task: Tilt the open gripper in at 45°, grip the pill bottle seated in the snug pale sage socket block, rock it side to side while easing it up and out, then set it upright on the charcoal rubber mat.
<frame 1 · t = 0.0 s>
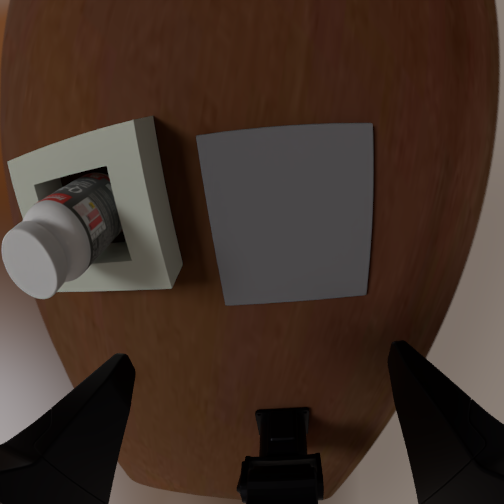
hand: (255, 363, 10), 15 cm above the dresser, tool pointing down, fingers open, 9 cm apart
pill bottle: (101, 203, 23), resting in socket block
charcoal mat: (292, 220, 23), on the dresser
socket block: (100, 204, 23), on the dresser
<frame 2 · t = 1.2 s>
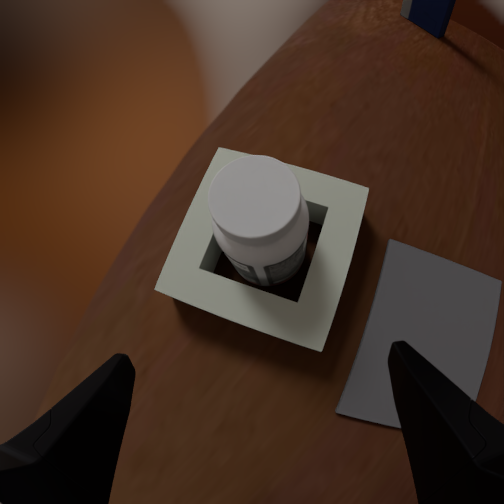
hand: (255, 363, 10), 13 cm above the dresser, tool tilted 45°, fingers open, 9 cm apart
pill bottle: (268, 252, 25), resting in socket block
cassette player: (421, 25, 32), on the dresser
charcoal mat: (431, 344, 21), on the dresser
socket block: (268, 251, 25), on the dresser
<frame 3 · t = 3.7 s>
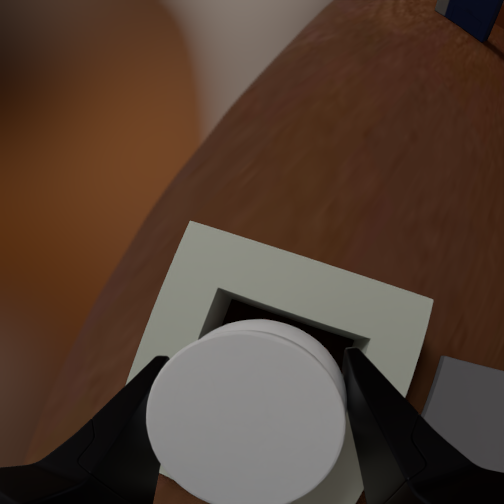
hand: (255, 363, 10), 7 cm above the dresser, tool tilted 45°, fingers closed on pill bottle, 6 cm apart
pill bottle: (270, 380, 16), resting in socket block, touching gripper
cassette player: (461, 25, 23), on the dresser
charcoal mat: (470, 474, 12), on the dresser
socket block: (270, 381, 15), on the dresser
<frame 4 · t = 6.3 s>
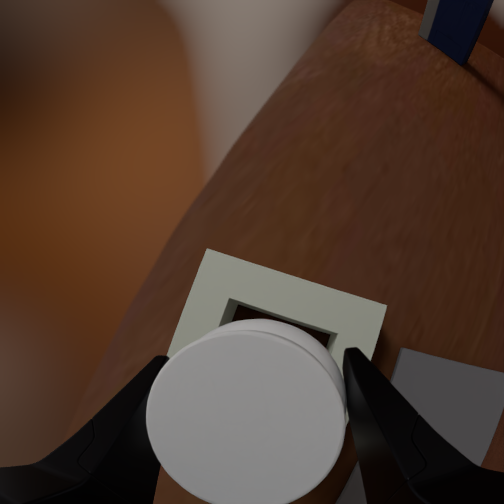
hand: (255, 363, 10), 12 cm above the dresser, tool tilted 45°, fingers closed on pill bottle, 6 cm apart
pill bottle: (270, 380, 16), point 5 cm above the dresser, touching gripper
cassette player: (442, 48, 29), on the dresser
charcoal mat: (433, 446, 17), on the dresser
socket block: (267, 365, 21), on the dresser
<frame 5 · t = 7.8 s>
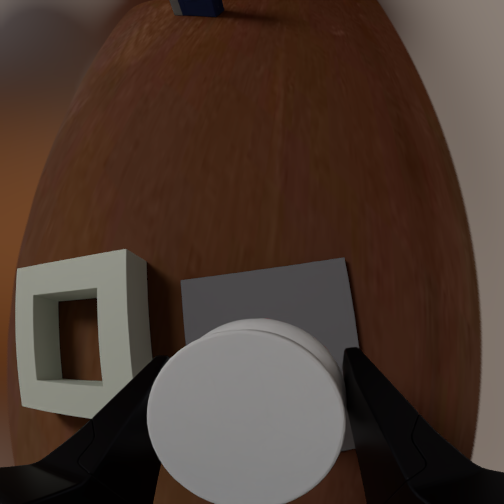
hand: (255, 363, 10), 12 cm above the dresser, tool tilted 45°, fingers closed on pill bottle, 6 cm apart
pill bottle: (270, 379, 16), point 5 cm above the dresser, touching gripper
cassette player: (199, 13, 34), on the dresser
charcoal mat: (274, 367, 21), on the dresser
socket block: (88, 339, 23), on the dresser
when the fingers open (8 cm above the dresser, at t = 9.0 s): pill bottle drops 1 cm, resting on charcoal mat.
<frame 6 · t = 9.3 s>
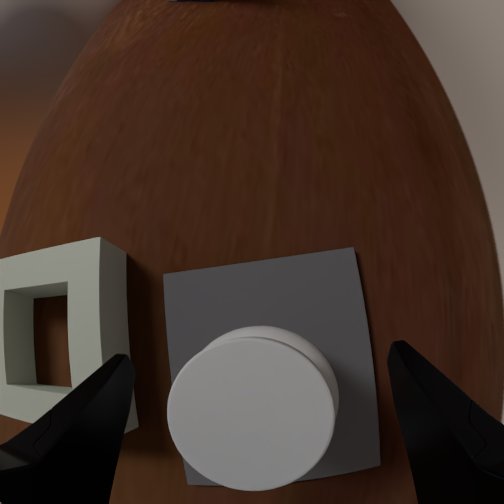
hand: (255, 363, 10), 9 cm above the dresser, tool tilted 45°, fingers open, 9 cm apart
pill bottle: (271, 379, 17), resting on charcoal mat
charcoal mat: (271, 377, 17), on the dresser
socket block: (63, 341, 19), on the dresser
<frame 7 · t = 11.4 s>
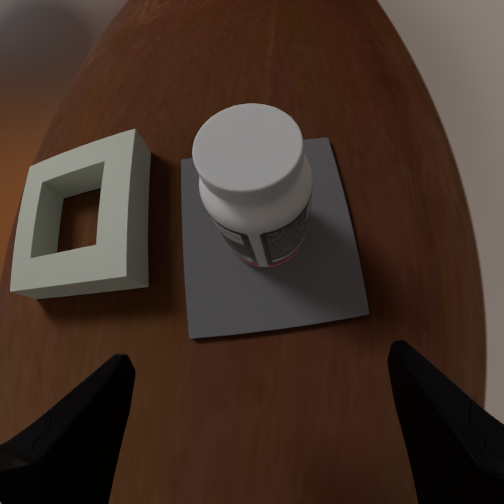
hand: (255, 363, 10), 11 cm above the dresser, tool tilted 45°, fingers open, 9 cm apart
pill bottle: (266, 230, 22), resting on charcoal mat
charcoal mat: (266, 229, 22), on the dresser
socket block: (87, 225, 24), on the dresser
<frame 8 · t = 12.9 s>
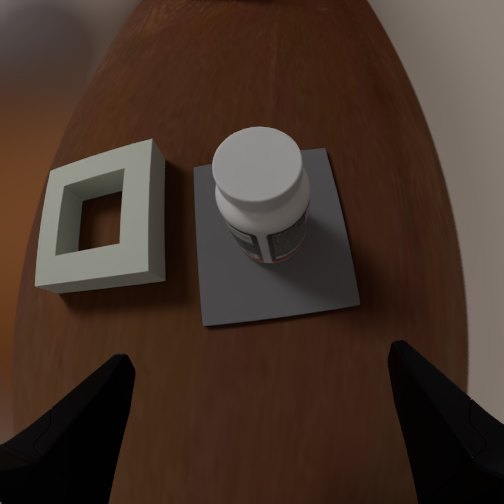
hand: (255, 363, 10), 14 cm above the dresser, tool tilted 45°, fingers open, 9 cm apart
pill bottle: (270, 230, 25), resting on charcoal mat
charcoal mat: (270, 230, 25), on the dresser
socket block: (107, 226, 27), on the dresser
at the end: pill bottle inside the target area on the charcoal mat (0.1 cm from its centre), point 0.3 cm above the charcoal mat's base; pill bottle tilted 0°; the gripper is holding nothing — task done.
